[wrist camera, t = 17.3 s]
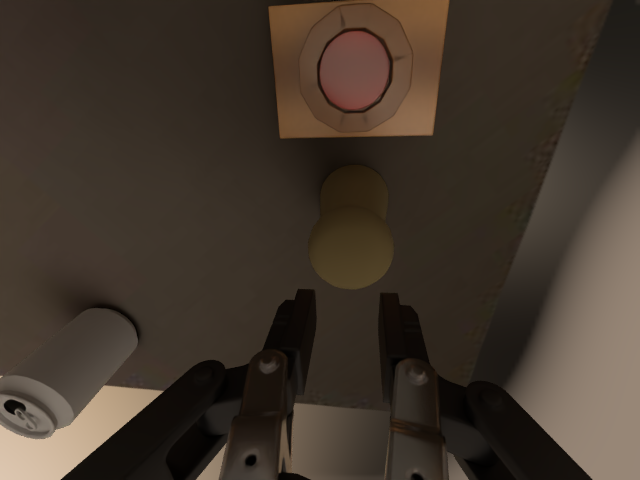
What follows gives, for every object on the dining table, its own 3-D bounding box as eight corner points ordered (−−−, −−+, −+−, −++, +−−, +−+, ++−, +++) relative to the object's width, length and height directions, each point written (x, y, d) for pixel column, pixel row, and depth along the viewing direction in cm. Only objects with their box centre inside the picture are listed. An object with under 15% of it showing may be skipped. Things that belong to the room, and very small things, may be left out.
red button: (385, 107, 20) (387, 109, 18) (323, 109, 20) (320, 110, 19) (389, 33, 18) (391, 28, 16) (321, 37, 18) (318, 32, 17)
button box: (425, 130, 24) (438, 139, 20) (287, 133, 25) (273, 142, 21) (440, 3, 20) (459, -17, 16) (278, 14, 22) (259, -2, 18)
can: (103, 292, 36) (-6, 380, 25) (154, 333, 38) (72, 430, 27) (73, 320, 38) (-37, 410, 28) (122, 357, 40) (37, 454, 30)
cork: (402, 185, 26) (427, 244, 16) (366, 240, 29) (369, 320, 19) (339, 151, 25) (325, 191, 16) (308, 211, 28) (280, 278, 18)
